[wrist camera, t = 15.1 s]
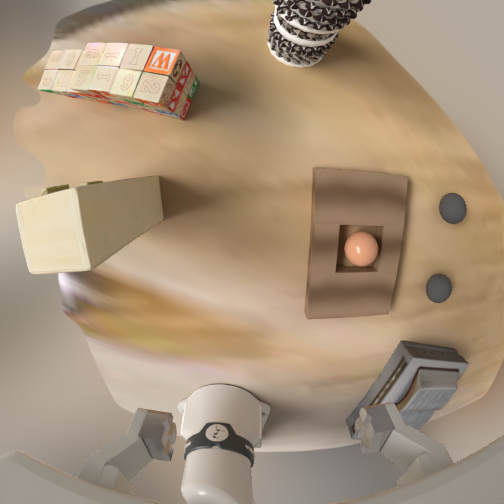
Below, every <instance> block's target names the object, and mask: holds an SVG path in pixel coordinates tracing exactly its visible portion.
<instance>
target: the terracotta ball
mask: <svg viewBox="0 0 504 504" xmlns="http://www.w3.org/2000/svg"><path fill="white" fill-rule="evenodd" d="M344 250H345V255H346V257H347V259H348V260H349V261H350V262H351V263H352V264H354V265H356V266H361V267H363V266H367V265H369V264H371V263H372V262H373V261H374V260H375V259H376V257H377V254H378V244H377V241H376V239H375V238H374V237H373V236H372V235H371V234H369V233H367V232H363V231H360V232H356V233H353V234H352V235H351V236H349V238H348V239H347V241H346V243H345V249H344Z"/></svg>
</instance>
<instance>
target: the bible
mask: <svg viewBox="0 0 504 504" xmlns="http://www.w3.org/2000/svg"><path fill="white" fill-rule="evenodd" d="M467 366H468V362H466V361H465V359H464V358H463V357H462V356H460V355H458V353H457V351H456V350H455V349H453V348H448V347H440V346H433V345H427V344H420V343H414V342H408V341H400V343H399V345H398V346H397V348H396V350H395V351H394V353H393V354H392V356H391V358H390V360H389V361H388V363H387V364H386V366H385V367H384V369H383V370H382V372H381V373H380V374H381V376H380V377H379V378H378V379H377V380H376V381H375V382H374V384H373V385H372V387H371V389H370V391H368V393H367V397H366V398H365V399H364V400H362V401H361V403H359V405H358V406H357V407H356V409H355V410H354V411H353V412H352V414H351V415H350V416H349V418H348V419H347V420H346V421H347V424H348V427H349V430H350V434H351V439H359V438H357V436H356V433H355V422H356V419H357V418H358V417H360V414H359V412H360V410H361V408H363V407H368V406H373V405H378V404H384V403H388V402H393V403H394V404H395V406H396V407H397V409H398V411H399V413H400V415H401V417H402V419H403V421H404V423H405V425H406V426H408V425H409V426H411V427H413V428H414V429H416V430H419V429H420V428H421V427H422V426H423V425H424V424H425V423H426V422H427V421H428V420H429V419H430V418H431V416H432V415H433V413H434V411H435V410H439V409H441V408H442V407H443V406H445V405H446V403H447V402H448V401H449V400H450V398H451V397H452V395H453V394H454V393H455V391H456V390H457V381H458V380H459V378H460V377H461V375H462V374H463V372H464V371H465V369H466V368H467Z"/></svg>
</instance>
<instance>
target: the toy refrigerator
mask: <svg viewBox="0 0 504 504" xmlns="http://www.w3.org/2000/svg"><path fill="white" fill-rule="evenodd" d="M16 213H17V220H18V225H19V230H20V235H21V240H22V245H23V249H24V253H25V257H26V261H27V266H28V269H29V271H30V273H31V274H49V273H62V272H76V271H88V270H92V269H94V268H96V267H97V266H99V265H100V264H101V263H103V262H104V261H105V260H107V259H108V258H109V257H111V256H112V255H114V254H115V253H116V252H118V251H119V250H120V249H122V248H123V247H125V246H126V245H127V244H129V243H130V242H132V241H133V240H135V239H136V238H138V237H139V236H141V235H142V234H144V233H145V232H147V231H148V230H149V229H151V228H152V227H154V226H156V225H157V224H159V223H160V222H162V221H163V220H164V215H163V208H162V199H161V191H160V182H159V176H148V177H140V178H132V179H124V180H117V181H111V182H104V183H103V181H95V182H87V183H83V184H82V186H79V187H75V188H70V189H69V185H68V184H67V185H61V186H55V187H49V188H44V189H41V196H40V197H36V198H33V199H30V200H26V201H23V202H20V203H18V204H17V205H16Z"/></svg>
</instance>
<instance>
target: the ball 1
mask: <svg viewBox="0 0 504 504" xmlns="http://www.w3.org/2000/svg"><path fill="white" fill-rule="evenodd" d="M451 291H452V285H451V282H450V280H449V279H448V277H446V276H445V275H442V274H437V275H434V276H432V277H431V278H430V279H429V281H428V282H427V285H426V293H427V296H428V298H429V299H430V300H431V301H433V302H435V303H441V302H444V301H446V300H447V299H448V298H449V296H450V294H451Z"/></svg>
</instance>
